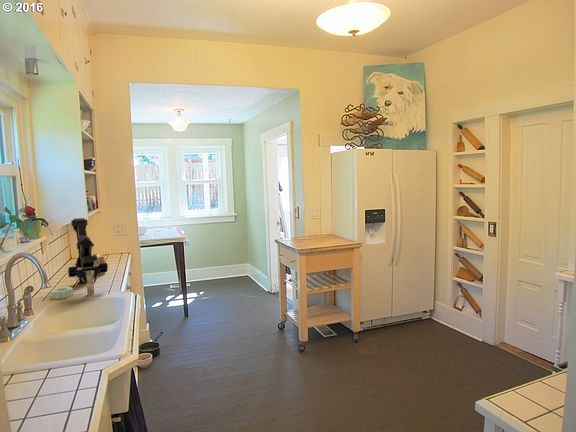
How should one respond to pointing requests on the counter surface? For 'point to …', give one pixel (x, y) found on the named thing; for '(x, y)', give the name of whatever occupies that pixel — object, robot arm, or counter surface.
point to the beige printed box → (99, 260)
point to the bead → (62, 292)
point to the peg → (90, 282)
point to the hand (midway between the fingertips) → (90, 282)
